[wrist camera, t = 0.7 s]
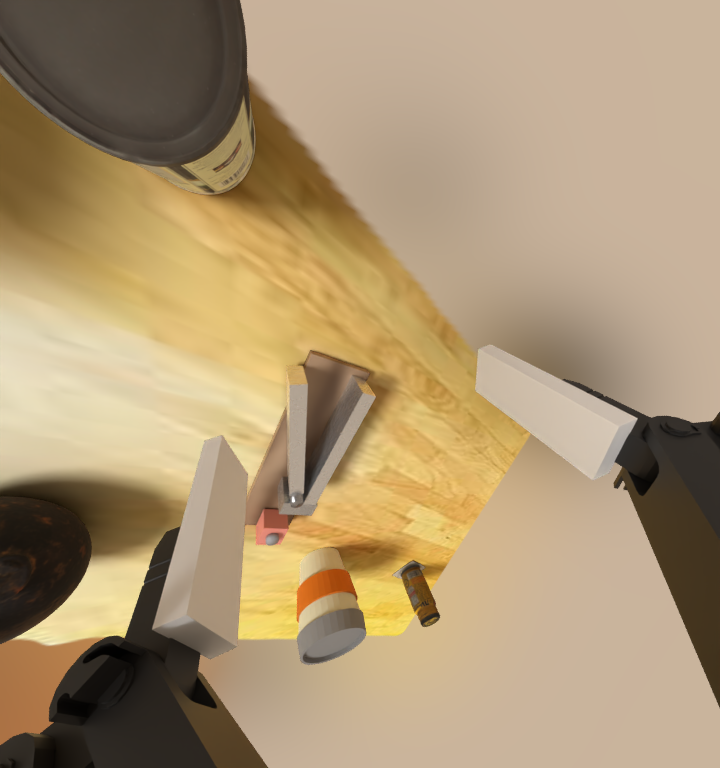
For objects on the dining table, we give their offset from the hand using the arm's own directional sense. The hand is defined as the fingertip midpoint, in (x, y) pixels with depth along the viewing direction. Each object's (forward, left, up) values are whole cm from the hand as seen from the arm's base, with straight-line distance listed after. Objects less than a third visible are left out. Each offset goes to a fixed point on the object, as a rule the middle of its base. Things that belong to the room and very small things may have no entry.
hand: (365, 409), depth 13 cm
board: (+7, -22, -23) cm, 32 cm away
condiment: (+55, -58, -23) cm, 83 cm away
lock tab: (+8, -36, -21) cm, 42 cm away
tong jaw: (+5, -17, -21) cm, 27 cm away
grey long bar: (+9, -17, -21) cm, 29 cm away
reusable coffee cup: (+24, -51, -23) cm, 61 cm away
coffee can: (-14, +10, -23) cm, 29 cm away
